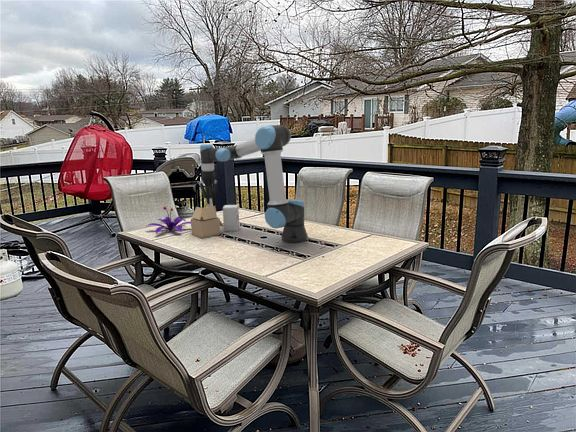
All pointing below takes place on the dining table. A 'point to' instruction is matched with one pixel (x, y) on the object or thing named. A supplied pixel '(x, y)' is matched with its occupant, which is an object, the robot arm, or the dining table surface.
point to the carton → (206, 227)
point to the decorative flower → (170, 223)
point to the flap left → (197, 213)
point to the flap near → (209, 212)
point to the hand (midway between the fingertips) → (210, 208)
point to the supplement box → (231, 217)
